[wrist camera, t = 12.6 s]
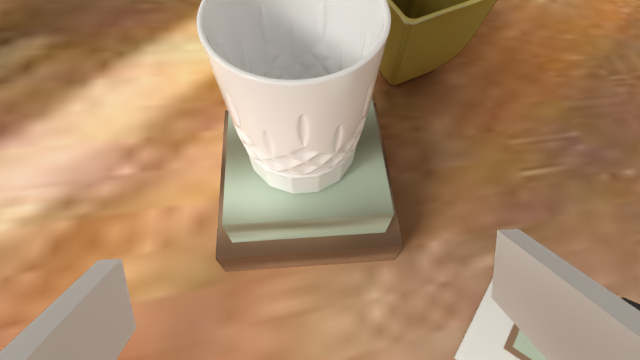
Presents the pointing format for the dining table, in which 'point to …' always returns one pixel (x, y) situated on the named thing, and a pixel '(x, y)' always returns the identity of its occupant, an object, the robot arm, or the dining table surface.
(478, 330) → the page
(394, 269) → the dining table surface
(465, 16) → the flower pot
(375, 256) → the tower base
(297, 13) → the white cup
